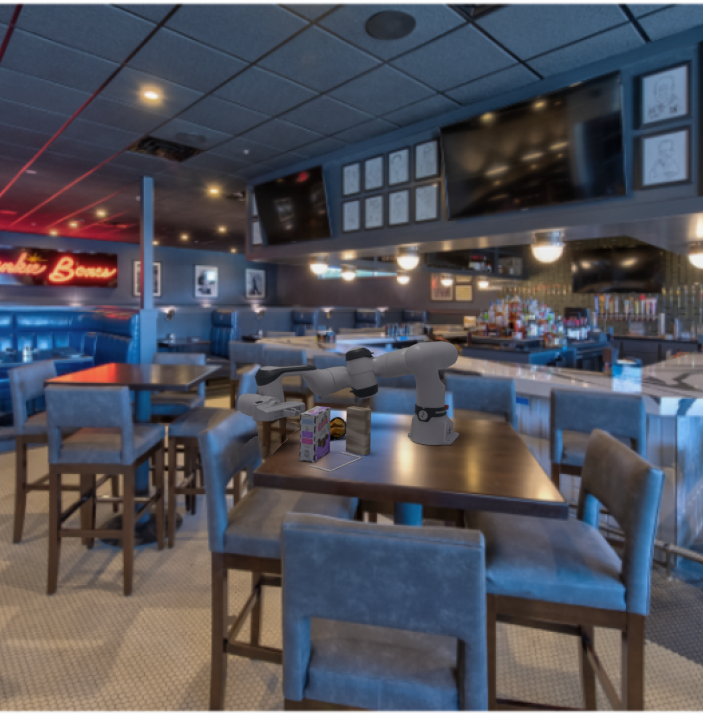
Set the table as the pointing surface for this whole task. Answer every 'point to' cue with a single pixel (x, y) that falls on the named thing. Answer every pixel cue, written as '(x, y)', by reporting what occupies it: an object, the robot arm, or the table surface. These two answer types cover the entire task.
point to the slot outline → (339, 466)
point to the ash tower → (358, 430)
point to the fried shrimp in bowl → (337, 428)
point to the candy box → (314, 433)
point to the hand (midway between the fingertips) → (297, 413)
